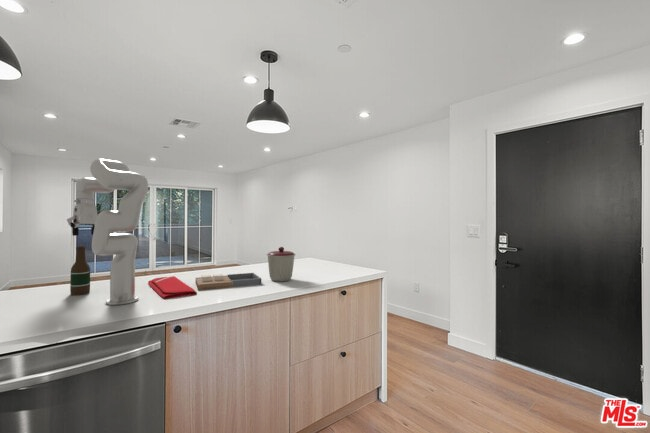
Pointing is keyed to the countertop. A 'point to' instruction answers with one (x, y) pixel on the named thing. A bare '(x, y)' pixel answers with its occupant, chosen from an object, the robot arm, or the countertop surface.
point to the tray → (244, 279)
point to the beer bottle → (80, 274)
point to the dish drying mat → (170, 287)
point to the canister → (280, 265)
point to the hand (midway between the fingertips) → (85, 235)
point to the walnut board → (213, 283)
